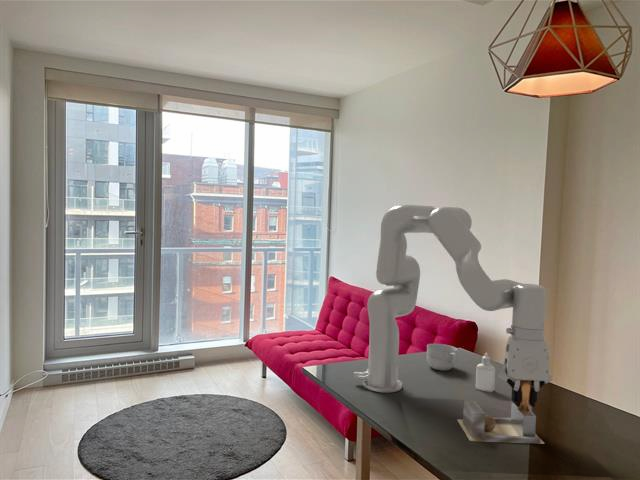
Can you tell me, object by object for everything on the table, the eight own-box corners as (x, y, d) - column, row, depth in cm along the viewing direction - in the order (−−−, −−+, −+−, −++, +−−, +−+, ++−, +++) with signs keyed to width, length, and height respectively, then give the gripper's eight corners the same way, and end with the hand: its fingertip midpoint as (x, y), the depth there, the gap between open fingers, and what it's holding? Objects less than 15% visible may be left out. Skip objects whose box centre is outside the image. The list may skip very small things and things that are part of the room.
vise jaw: (522, 437, 118) (525, 383, 118) (510, 423, 126) (513, 372, 126) (534, 438, 118) (537, 384, 118) (521, 423, 126) (524, 373, 126)
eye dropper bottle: (486, 393, 152) (488, 356, 151) (473, 387, 157) (474, 351, 156) (496, 391, 154) (498, 354, 153) (482, 385, 159) (484, 350, 158)
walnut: (483, 435, 121) (480, 420, 120) (478, 428, 125) (475, 413, 124) (499, 432, 121) (496, 417, 120) (493, 425, 125) (491, 410, 124)
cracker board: (469, 446, 117) (471, 416, 116) (456, 424, 129) (458, 397, 128) (544, 449, 116) (546, 419, 116) (524, 427, 128) (525, 399, 128)
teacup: (421, 363, 180) (422, 342, 180) (448, 363, 182) (449, 342, 182) (437, 376, 167) (438, 353, 166) (466, 375, 169) (467, 353, 168)
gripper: (500, 336, 117) (496, 409, 118) (567, 338, 117) (563, 412, 118) (489, 328, 125) (486, 397, 126) (553, 330, 124) (549, 400, 126)
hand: (523, 404), depth 122 cm, fingers closed on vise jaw, 3 cm apart
